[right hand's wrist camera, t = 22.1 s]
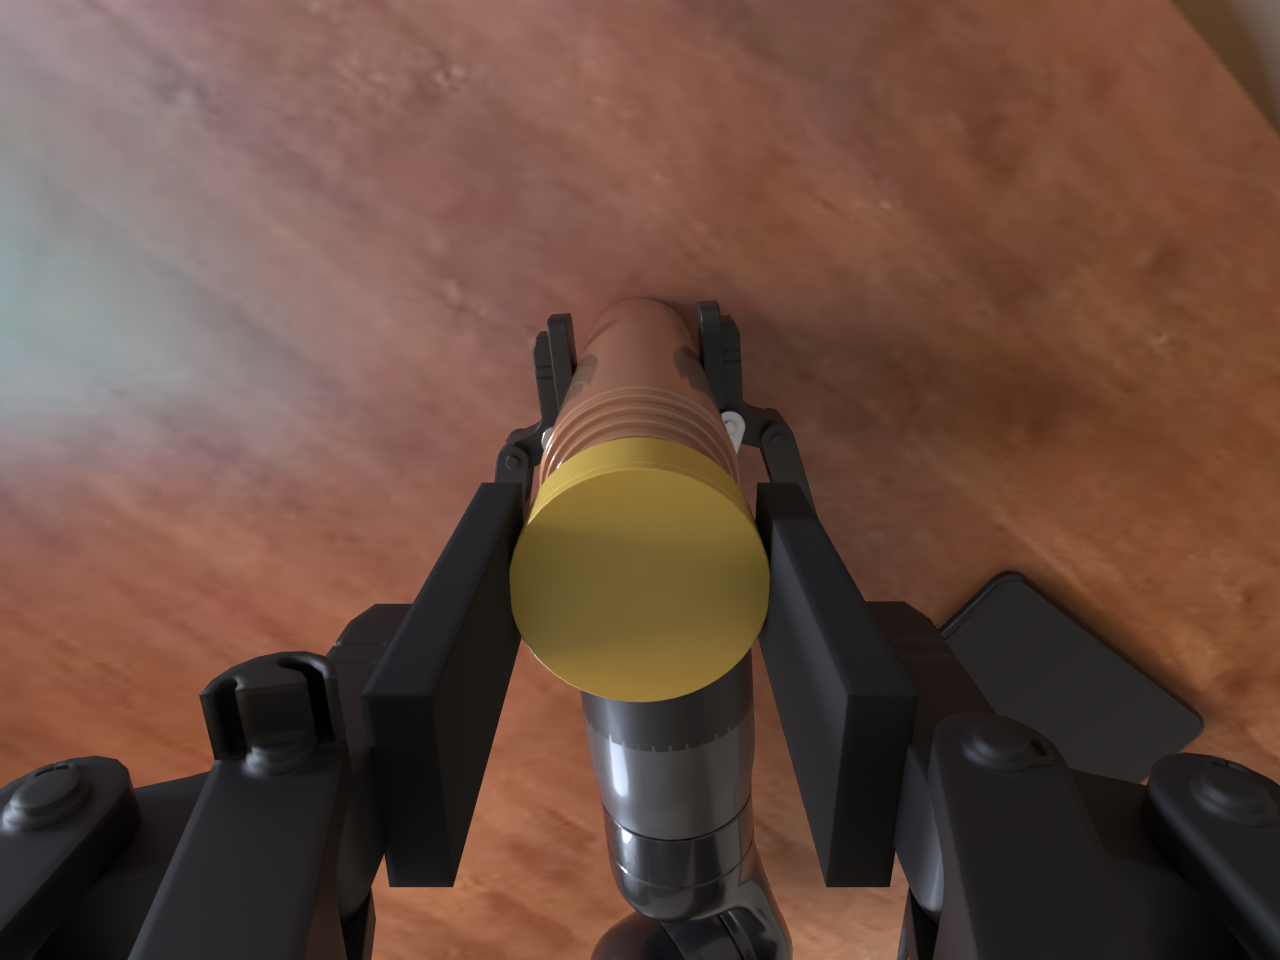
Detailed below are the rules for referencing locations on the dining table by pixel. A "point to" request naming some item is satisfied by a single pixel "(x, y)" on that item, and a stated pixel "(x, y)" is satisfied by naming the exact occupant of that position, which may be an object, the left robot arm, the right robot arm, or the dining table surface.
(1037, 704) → the smartphone
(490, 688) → the right robot arm
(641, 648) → the cap
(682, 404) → the bottle
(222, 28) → the dining table surface
